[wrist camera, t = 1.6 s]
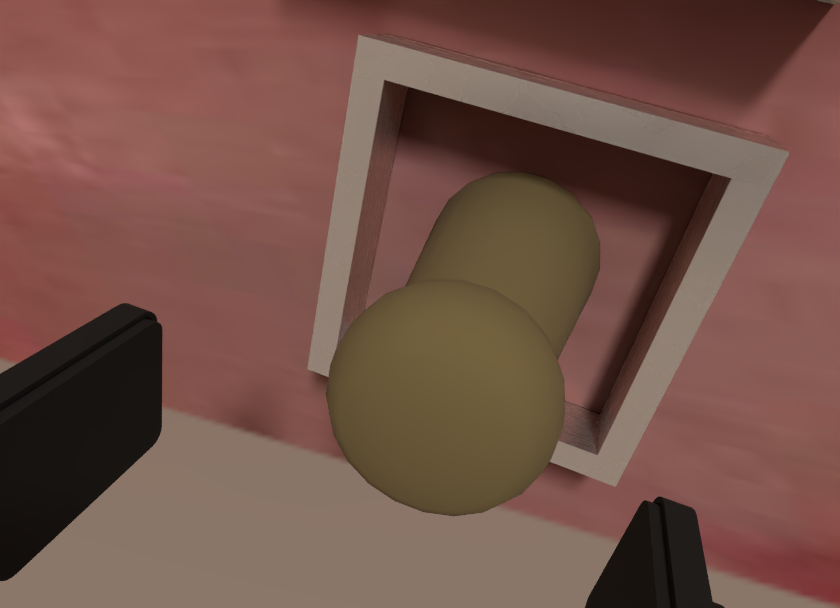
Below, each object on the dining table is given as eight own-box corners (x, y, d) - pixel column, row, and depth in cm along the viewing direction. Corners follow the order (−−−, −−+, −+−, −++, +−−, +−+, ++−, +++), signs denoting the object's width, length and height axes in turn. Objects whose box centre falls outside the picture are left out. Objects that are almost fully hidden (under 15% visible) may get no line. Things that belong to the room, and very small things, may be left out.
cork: (452, 339, 23) (334, 557, 14) (412, 190, 21) (239, 323, 12) (613, 322, 21) (604, 568, 11) (585, 153, 19) (546, 281, 9)
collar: (768, 136, 17) (790, 152, 15) (616, 443, 23) (615, 487, 21) (388, 33, 19) (358, 34, 17) (334, 339, 25) (307, 369, 23)
